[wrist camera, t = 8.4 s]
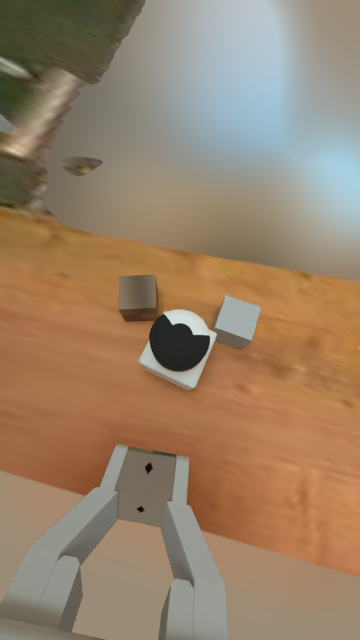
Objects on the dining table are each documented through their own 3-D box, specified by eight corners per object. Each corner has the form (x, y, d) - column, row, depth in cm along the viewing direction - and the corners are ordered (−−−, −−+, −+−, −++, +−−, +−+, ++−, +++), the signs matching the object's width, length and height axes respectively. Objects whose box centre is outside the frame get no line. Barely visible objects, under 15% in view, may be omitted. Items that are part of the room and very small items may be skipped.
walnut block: (125, 321, 35) (118, 309, 30) (126, 292, 37) (119, 276, 32) (158, 320, 35) (156, 307, 30) (157, 291, 37) (155, 274, 32)
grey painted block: (209, 337, 34) (214, 327, 30) (218, 308, 36) (225, 295, 31) (240, 349, 34) (251, 340, 29) (249, 319, 36) (261, 307, 31)
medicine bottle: (190, 392, 32) (199, 386, 20) (144, 370, 32) (129, 353, 21) (209, 346, 34) (227, 318, 23) (166, 326, 35) (162, 290, 23)
